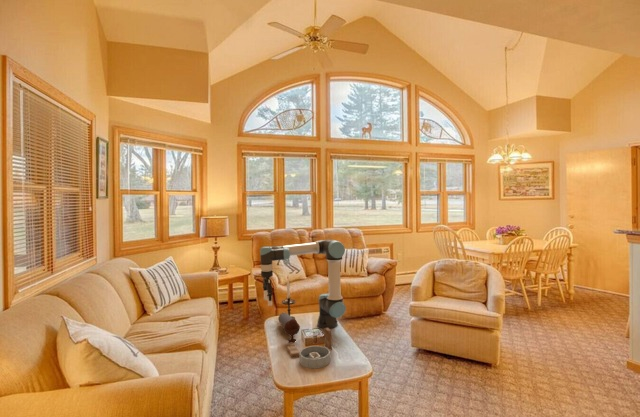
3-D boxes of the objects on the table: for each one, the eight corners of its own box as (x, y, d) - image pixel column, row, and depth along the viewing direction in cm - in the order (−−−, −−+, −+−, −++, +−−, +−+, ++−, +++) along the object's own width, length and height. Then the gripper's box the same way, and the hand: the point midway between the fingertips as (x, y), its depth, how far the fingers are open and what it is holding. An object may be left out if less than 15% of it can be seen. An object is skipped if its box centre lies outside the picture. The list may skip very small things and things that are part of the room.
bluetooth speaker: (277, 326, 254) (277, 312, 254) (289, 324, 257) (289, 311, 257) (285, 336, 233) (285, 322, 232) (298, 334, 236) (297, 320, 236)
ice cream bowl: (301, 337, 230) (300, 315, 230) (298, 344, 219) (298, 321, 219) (286, 337, 231) (285, 315, 231) (282, 344, 220) (282, 321, 220)
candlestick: (294, 322, 261) (292, 277, 260) (280, 321, 263) (279, 276, 262) (297, 317, 272) (296, 274, 271) (284, 316, 274) (283, 273, 273)
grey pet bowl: (322, 351, 208) (322, 343, 208) (335, 363, 191) (334, 355, 191) (295, 357, 201) (295, 349, 201) (306, 370, 185) (305, 361, 185)
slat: (287, 350, 213) (286, 346, 213) (294, 348, 214) (294, 344, 214) (291, 358, 201) (291, 354, 201) (299, 356, 203) (299, 352, 203)
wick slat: (328, 346, 215) (328, 327, 215) (331, 349, 211) (331, 330, 211) (325, 346, 214) (324, 328, 214) (328, 349, 210) (327, 330, 210)
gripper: (257, 267, 231) (259, 298, 231) (264, 274, 207) (265, 308, 208) (268, 266, 233) (269, 297, 234) (276, 273, 210) (277, 307, 210)
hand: (268, 302), depth 221 cm, fingers open, 13 cm apart
